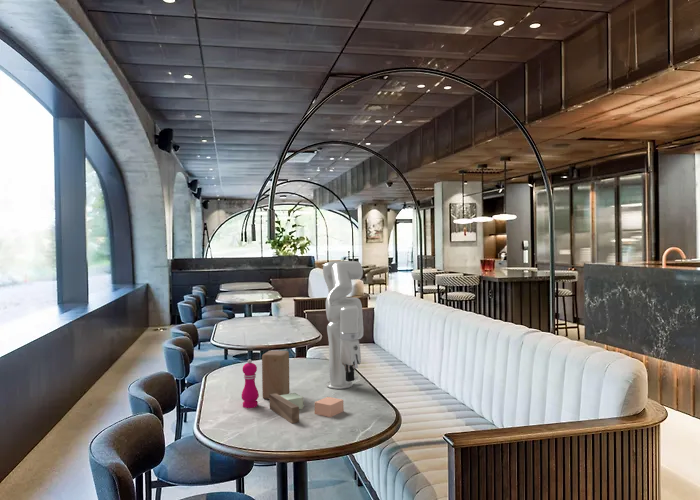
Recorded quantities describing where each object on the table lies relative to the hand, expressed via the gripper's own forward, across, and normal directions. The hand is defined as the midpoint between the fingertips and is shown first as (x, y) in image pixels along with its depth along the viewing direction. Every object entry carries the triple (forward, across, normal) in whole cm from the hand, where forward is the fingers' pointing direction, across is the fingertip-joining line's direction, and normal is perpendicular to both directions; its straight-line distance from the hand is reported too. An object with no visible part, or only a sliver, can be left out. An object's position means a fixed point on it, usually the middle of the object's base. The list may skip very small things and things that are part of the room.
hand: (349, 380), depth 227 cm
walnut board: (+12, +8, +27) cm, 30 cm away
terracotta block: (+12, +1, +10) cm, 16 cm away
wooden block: (+11, +34, +19) cm, 40 cm away
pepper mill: (+12, +27, +34) cm, 45 cm away
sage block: (+12, +16, +21) cm, 28 cm away
